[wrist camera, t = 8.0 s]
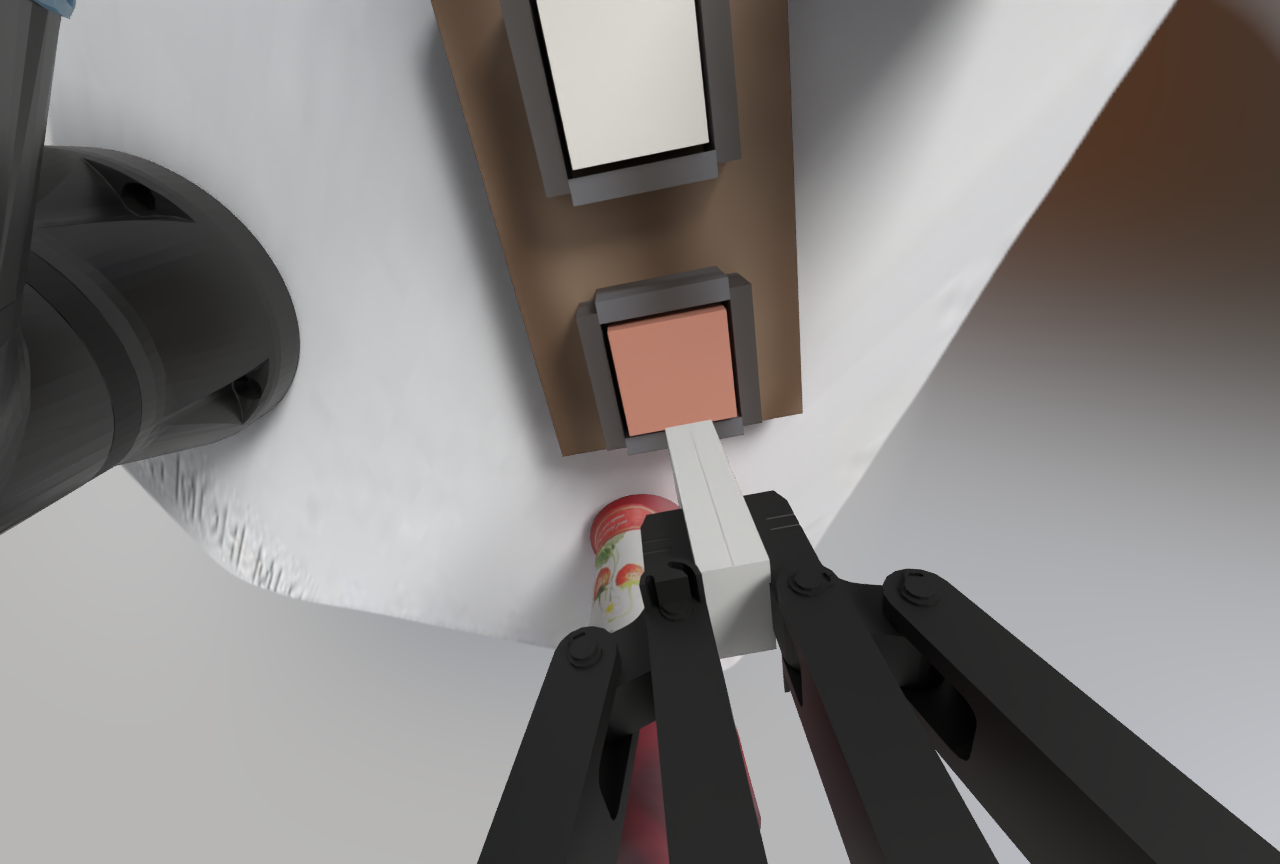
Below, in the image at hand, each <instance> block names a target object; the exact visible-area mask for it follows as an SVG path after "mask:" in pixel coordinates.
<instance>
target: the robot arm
mask: <svg viewBox="0 0 1280 864" xmlns="http://www.w3.org/2000/svg"><path fill="white" fill-rule="evenodd" d="M75 4H76V0H0V535H1V534H3V533H4V532H6V531H8V530H9V529H11V528H13V527H14V526H16V525H18V524H19V523H21V522H23V521H24V520H26V519H28V518H29V517H31V516H32V515H34V514H36V513H38V512H39V511H41V510H42V509H44V508H46V507H48V506H49V505H51V504H53V503H54V502H56V501H58V500H59V499H61V498H63V497H64V496H66V495H68V494H69V493H71V492H72V491H74V490H76V489H77V488H79V487H81V486H82V485H84V484H85V483H87V482H89V481H90V480H92V479H94V478H95V477H97V476H99V475H100V474H102V473H104V472H106V471H107V470H109V469H111V468H112V467H114V466H117V465H121V464H125V463H130V462H134V461H138V460H143V459H147V458H151V457H156V456H160V455H164V454H169V453H173V452H177V451H181V450H186V449H190V448H194V447H199V446H203V445H207V444H211V443H214V442H217V441H220V440H222V439H225V438H227V437H229V436H232V435H234V434H235V433H237V432H239V431H241V430H242V429H244V428H246V427H247V426H248V425H250V424H251V423H253V422H254V421H256V420H257V419H259V418H260V417H261V416H263V415H264V414H266V413H267V412H268V411H269V410H271V409H272V408H273V407H274V406H275V405H276V404H277V403H278V402H279V401H280V400H281V398H282V397H283V396H284V394H285V393H286V391H287V390H288V388H289V386H290V384H291V382H292V380H293V377H294V375H295V372H296V368H297V364H298V358H299V343H300V341H299V329H298V322H297V318H296V313H295V309H294V306H293V303H292V300H291V297H290V294H289V292H288V289H287V287H286V285H285V283H284V281H283V279H282V277H281V275H280V273H279V271H278V269H277V268H276V266H275V264H274V263H273V261H272V260H271V258H270V257H269V255H268V254H267V252H266V251H265V249H264V248H263V247H262V245H261V244H260V243H259V242H258V240H257V239H256V238H255V237H254V235H253V234H252V233H251V232H250V231H249V230H248V229H247V228H246V226H245V225H244V224H243V223H242V222H241V221H240V220H239V219H238V218H237V217H236V216H235V215H233V214H232V213H231V212H230V211H229V210H228V209H227V208H226V207H225V206H223V205H222V204H221V203H220V202H219V201H217V200H216V199H215V198H214V197H212V196H211V195H209V194H208V193H207V192H205V191H204V190H203V189H201V188H200V187H198V186H197V185H195V184H194V183H192V182H190V181H189V180H187V179H185V178H184V177H182V176H180V175H178V174H176V173H174V172H172V171H170V170H169V169H167V168H164V167H162V166H160V165H158V164H155V163H153V162H150V161H148V160H145V159H142V158H140V157H136V156H133V155H130V154H127V153H122V152H118V151H114V150H108V149H102V148H92V147H73V146H44V141H45V133H46V125H47V118H48V110H49V103H50V95H51V87H52V80H53V72H54V64H55V57H56V49H57V42H58V34H59V27H60V21H61V16H63V17H66V18H69V19H70V16H71V15H72V13H73V11H74V8H75ZM665 431H666V437H667V442H668V448H669V454H670V459H671V465H672V471H673V476H674V482H675V488H676V493H677V499H678V503H679V508H680V509H675V510H670V511H664V512H659V513H653V514H648V515H646V517H645V519H644V521H643V523H642V525H641V527H640V531H641V541H642V552H643V562H644V572H643V574H642V575H641V577H640V582H639V588H640V592H641V596H642V600H643V604H644V609H643V611H642V612H641V614H640V615H639V616H638V617H637V618H636V619H635V620H634V621H633V622H631V623H630V624H628V625H626V626H625V627H623V628H621V629H619V630H617V631H615V632H612V633H610V632H608V631H607V630H606V629H604V628H600V627H595V626H590V627H583V628H580V629H578V630H576V631H573V632H571V633H570V634H569V635H567V636H566V637H565V638H564V639H563V640H562V641H561V642H560V644H559V645H558V647H557V649H556V650H555V652H554V655H553V658H552V661H551V663H550V666H549V669H548V672H547V674H546V677H545V680H544V682H543V685H542V688H541V691H540V694H539V696H538V699H537V702H536V704H535V707H534V710H533V713H532V715H531V718H530V721H529V724H528V726H527V729H526V732H525V734H524V737H523V740H522V742H521V745H520V748H519V751H518V754H517V756H516V759H515V762H514V765H513V767H512V770H511V773H510V775H509V779H508V781H507V783H506V786H505V789H504V792H503V794H502V797H501V800H500V803H499V805H498V808H497V811H496V813H495V816H494V819H493V822H492V824H491V827H490V830H489V833H488V835H487V838H486V841H485V843H484V846H483V849H482V852H481V854H480V857H479V860H478V862H477V864H617V858H618V853H619V847H620V841H621V836H622V830H623V824H624V818H625V813H626V807H627V801H628V795H629V790H630V784H631V778H632V773H633V767H634V761H635V755H636V750H637V744H638V738H639V733H640V729H641V728H643V727H645V726H646V725H648V724H650V723H652V722H654V721H656V728H657V738H658V749H659V760H660V770H661V781H662V792H663V802H664V813H665V824H666V834H667V845H668V856H669V864H768V863H767V858H766V855H765V850H764V846H763V842H762V837H761V834H760V829H759V824H758V820H757V816H756V812H755V807H754V803H753V799H752V795H751V790H750V786H749V782H748V778H747V773H746V769H745V765H744V761H743V756H742V752H741V748H740V743H739V739H738V735H737V731H736V726H735V722H734V718H733V714H732V709H731V705H730V701H729V697H728V692H727V688H726V684H725V680H724V676H723V671H722V667H721V663H720V659H721V658H727V657H733V656H738V655H744V654H749V653H755V652H761V651H767V650H773V649H776V639H777V641H778V644H779V647H780V650H781V653H782V663H783V678H784V688H785V692H790V691H791V694H792V696H793V700H794V702H795V705H796V708H797V711H798V714H799V717H800V719H801V722H802V725H803V728H804V731H805V734H806V737H807V740H808V743H809V745H810V748H811V751H812V754H813V757H814V760H815V763H816V765H817V768H818V771H819V774H820V777H821V780H822V783H823V786H824V788H825V791H826V794H827V797H828V800H829V803H830V805H831V808H832V811H833V814H834V817H835V820H836V823H837V826H838V829H839V831H840V834H841V837H842V840H843V843H844V846H845V849H846V852H847V854H848V857H849V860H850V863H851V864H999V863H998V861H997V860H996V858H995V856H994V854H993V852H992V851H991V849H990V847H989V845H988V843H987V842H986V840H985V838H984V836H983V834H982V833H981V831H980V829H979V827H978V826H977V824H976V822H975V820H974V818H973V817H972V815H971V813H970V811H969V809H968V808H967V806H966V804H965V802H964V801H963V799H962V797H961V795H960V793H959V792H958V790H957V788H956V786H955V785H954V783H953V781H952V779H951V777H950V776H949V774H948V772H947V770H946V769H945V767H944V765H943V763H942V761H941V759H940V758H939V756H938V754H937V752H938V753H939V754H940V756H941V757H942V758H943V759H944V760H945V762H946V763H947V764H948V765H949V766H950V768H951V769H952V770H953V771H954V772H955V774H956V775H957V776H958V777H959V778H960V780H961V781H962V782H963V783H964V784H965V786H966V787H967V788H968V789H969V790H970V792H971V793H972V794H973V795H974V796H975V798H976V799H977V800H978V801H979V802H980V803H981V805H982V806H983V807H984V808H985V809H986V811H987V812H988V813H989V814H990V815H991V817H992V818H993V819H994V820H995V821H996V823H997V824H998V825H999V826H1000V827H1001V829H1002V830H1003V831H1004V832H1005V833H1006V835H1007V836H1008V837H1009V838H1010V839H1011V841H1012V842H1013V843H1014V844H1015V845H1016V847H1017V848H1018V849H1019V850H1020V851H1021V852H1022V854H1023V855H1024V856H1025V857H1026V858H1027V860H1028V861H1029V862H1030V863H1031V864H1280V852H1279V851H1278V850H1277V849H1276V848H1274V847H1273V846H1272V845H1271V844H1269V843H1268V842H1267V841H1266V840H1265V839H1263V838H1262V837H1261V836H1260V835H1258V834H1257V833H1256V832H1255V831H1253V830H1252V829H1251V828H1250V827H1249V826H1247V825H1246V824H1245V823H1244V822H1242V821H1241V820H1240V819H1239V818H1237V817H1236V816H1235V815H1234V814H1233V813H1231V812H1230V811H1229V810H1228V809H1226V808H1225V807H1224V806H1223V805H1222V804H1220V803H1219V802H1218V801H1217V800H1215V799H1214V798H1213V797H1212V796H1210V795H1209V794H1208V793H1207V792H1205V791H1204V790H1203V789H1202V788H1201V787H1199V786H1198V785H1197V784H1195V783H1194V782H1193V781H1192V780H1191V779H1189V778H1188V777H1187V776H1186V775H1185V774H1183V773H1182V772H1181V771H1180V770H1179V769H1177V768H1176V767H1175V766H1173V765H1172V764H1171V763H1170V762H1169V761H1167V760H1166V759H1165V758H1164V757H1162V756H1161V755H1160V754H1159V753H1158V752H1156V751H1155V750H1154V749H1152V748H1151V747H1150V746H1149V745H1148V744H1147V743H1145V742H1144V741H1143V740H1142V739H1140V738H1139V737H1138V736H1137V735H1135V734H1134V733H1133V732H1132V731H1131V730H1129V729H1128V728H1127V727H1126V726H1124V725H1123V724H1122V723H1121V722H1120V721H1118V720H1117V719H1116V718H1115V717H1113V716H1112V715H1111V714H1110V713H1108V712H1107V711H1106V710H1105V709H1104V708H1102V707H1101V706H1100V705H1099V704H1097V703H1096V702H1095V701H1093V700H1092V699H1091V698H1090V697H1089V696H1088V695H1086V694H1085V693H1084V692H1083V691H1081V690H1080V689H1079V688H1078V687H1076V686H1075V685H1074V684H1073V683H1072V682H1070V681H1069V680H1068V679H1067V678H1065V677H1064V676H1063V675H1062V674H1060V673H1059V672H1058V671H1057V670H1056V669H1054V668H1053V667H1052V666H1051V665H1049V664H1048V663H1047V662H1046V661H1045V660H1043V659H1042V658H1041V657H1039V656H1038V655H1037V654H1036V653H1035V652H1033V651H1032V650H1031V649H1030V648H1029V647H1027V646H1026V645H1025V644H1023V643H1022V642H1021V641H1020V640H1019V639H1017V638H1016V637H1015V636H1014V635H1013V634H1011V633H1010V632H1009V631H1008V630H1006V629H1005V628H1004V627H1003V626H1001V625H1000V624H999V623H998V622H997V621H995V620H994V619H993V618H991V617H990V616H989V615H988V614H987V613H985V612H984V611H983V610H982V609H980V608H979V607H978V606H977V605H976V604H974V603H973V602H972V601H971V600H969V599H968V598H967V597H966V596H965V595H963V594H962V593H961V592H960V591H958V590H957V589H956V588H955V587H954V586H952V585H951V584H950V583H949V582H947V581H946V580H944V579H943V578H941V577H939V576H938V575H936V574H934V573H931V572H927V571H924V570H920V569H903V570H899V571H895V572H893V573H892V574H890V575H889V576H887V577H886V580H885V581H884V584H883V585H869V584H859V583H852V582H848V581H845V580H842V579H840V578H838V577H837V576H836V575H835V573H833V571H832V570H830V569H828V568H826V567H824V566H823V565H822V564H821V562H820V561H819V559H818V557H817V555H816V553H815V551H814V549H813V548H812V546H811V544H810V542H809V540H808V538H807V537H806V535H805V533H804V531H803V529H802V527H801V525H799V522H798V520H797V518H796V516H795V515H794V513H793V511H792V509H791V507H790V505H789V503H788V501H787V500H786V499H785V498H783V497H782V496H780V495H779V494H778V493H776V492H775V491H773V490H772V491H767V492H762V493H756V494H751V495H745V496H743V495H742V493H741V490H740V488H739V485H738V483H737V481H736V478H735V476H734V473H733V471H732V469H731V466H730V464H729V461H728V459H727V456H726V454H725V452H724V449H723V447H722V444H721V442H720V440H719V437H718V435H717V432H716V430H715V428H714V425H713V423H712V420H706V421H701V422H695V423H690V424H685V425H679V426H674V427H669V428H665ZM935 750H936V751H937V752H936V751H935Z"/></svg>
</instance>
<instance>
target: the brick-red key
mask: <svg viewBox="0 0 1280 864" xmlns="http://www.w3.org/2000/svg"><path fill="white" fill-rule="evenodd" d="M608 337H609V341H610V346H611V351H612V355H613V360H614V365H615V369H616V374H617V378H618V383H619V388H620V392H621V397H622V402H623V406H624V411H625V416H626V420H627V425H628V430H629V434H630V436H634V435H639V434H645V433H650V432H656V431H661V430H665V428H669V427H674V426H679V425H685V424H690V423H695V422H701V421H706V420H712V421H716V420H722V419H727V418H733V417H737V410H736V400H735V390H734V380H733V371H732V361H731V351H730V341H729V332H728V322H727V312H726V309H725V307H724V306H723V305H722V304H721V302H720V301H719V302H714V303H709V304H704V305H699V306H693V307H688V308H683V309H678V310H672V311H667V312H662V313H657V314H652V315H646V316H641V317H636V318H631V319H626V320H620V321H615V322H610V323H608Z"/></svg>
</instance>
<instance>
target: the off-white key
mask: <svg viewBox="0 0 1280 864" xmlns="http://www.w3.org/2000/svg"><path fill="white" fill-rule="evenodd" d="M536 1H537V5H538V10H539V15H540V19H541V24H542V29H543V33H544V38H545V43H546V47H547V52H548V57H549V61H550V66H551V71H552V75H553V80H554V85H555V89H556V94H557V99H558V103H559V108H560V113H561V117H562V122H563V126H564V131H565V136H566V140H567V145H568V150H569V154H570V159H571V164H572V168H573V170H579V169H584V168H589V167H593V166H598V165H603V164H608V163H613V162H618V161H623V160H628V159H633V158H638V157H643V156H647V155H652V154H657V153H662V152H667V151H672V150H677V149H682V148H687V147H692V146H696V145H701V144H705V143H708V142H709V139H708V129H707V119H706V109H705V100H704V90H703V80H702V71H701V61H700V51H699V41H698V32H697V22H696V12H695V3H694V0H536Z"/></svg>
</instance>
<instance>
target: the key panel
mask: <svg viewBox="0 0 1280 864" xmlns="http://www.w3.org/2000/svg"><path fill="white" fill-rule="evenodd" d="M431 3H432V6H433V10H434V13H435V17H436V20H437V24H438V27H439V31H440V34H441V37H442V41H443V44H444V48H445V51H446V55H447V58H448V62H449V65H450V69H451V72H452V75H453V79H454V82H455V86H456V89H457V93H458V96H459V100H460V103H461V107H462V110H463V113H464V117H465V120H466V124H467V127H468V131H469V134H470V138H471V141H472V145H473V148H474V151H475V155H476V158H477V162H478V165H479V169H480V172H481V176H482V179H483V183H484V186H485V190H486V193H487V196H488V200H489V203H490V207H491V210H492V214H493V217H494V221H495V224H496V228H497V231H498V234H499V238H500V241H501V245H502V248H503V252H504V255H505V259H506V262H507V266H508V269H509V272H510V276H511V279H512V283H513V286H514V290H515V293H516V297H517V300H518V304H519V307H520V311H521V314H522V317H523V321H524V324H525V328H526V331H527V335H528V338H529V342H530V345H531V349H532V352H533V355H534V359H535V362H536V366H537V369H538V373H539V376H540V380H541V383H542V387H543V390H544V393H545V397H546V400H547V404H548V407H549V411H550V414H551V418H552V421H553V425H554V428H555V431H556V435H557V438H558V442H559V445H560V449H561V452H562V456H563V457H564V456H570V455H575V454H581V453H586V452H592V451H597V450H603V449H607V450H614V449H619V448H625V447H627V450H628V455H634V454H639V453H645V452H650V451H656V450H662V449H667V448H668V442H667V437H666V431H665V430H661V431H656V432H650V433H645V434H639V435H634V436H630V434H629V430H628V425H627V420H626V416H625V411H624V406H623V402H622V397H621V392H620V388H619V383H618V378H617V374H616V369H615V365H614V360H613V355H612V351H611V346H610V341H609V337H608V323H610V322H615V321H620V320H626V319H631V318H636V317H641V316H646V315H652V314H657V313H662V312H667V311H672V310H678V309H683V308H688V307H693V306H699V305H704V304H709V303H714V302H719V301H720V302H721V304H722V305H723V306H724V307H725V309H726V312H727V322H728V332H729V341H730V351H731V361H732V371H733V380H734V390H735V400H736V410H737V417H733V418H727V419H722V420H716V421H712V423H713V425H714V428H715V430H716V432H717V435H718V437H719V439H722V438H728V437H733V436H739V435H744V434H743V426H746V425H751V424H757V423H762V420H768V419H773V418H779V417H784V416H790V415H795V414H801V413H803V410H802V383H801V356H800V329H799V302H798V275H797V248H796V221H795V194H794V167H793V140H792V112H791V85H790V58H789V31H788V4H787V0H694V3H695V12H696V22H697V32H698V41H699V51H700V61H701V71H702V80H703V90H704V100H705V109H706V119H707V129H708V139H709V142H708V143H705V144H701V145H696V146H692V147H687V148H682V149H677V150H672V151H667V152H662V153H657V154H652V155H647V156H643V157H638V158H633V159H628V160H623V161H618V162H613V163H608V164H603V165H598V166H593V167H589V168H584V169H579V170H573V168H572V164H571V159H570V154H569V150H568V145H567V140H566V136H565V131H564V126H563V122H562V117H561V113H560V108H559V103H558V99H557V94H556V89H555V85H554V80H553V75H552V71H551V66H550V61H549V57H548V52H547V47H546V43H545V38H544V33H543V29H542V24H541V19H540V15H539V10H538V5H537V1H536V0H431Z"/></svg>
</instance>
